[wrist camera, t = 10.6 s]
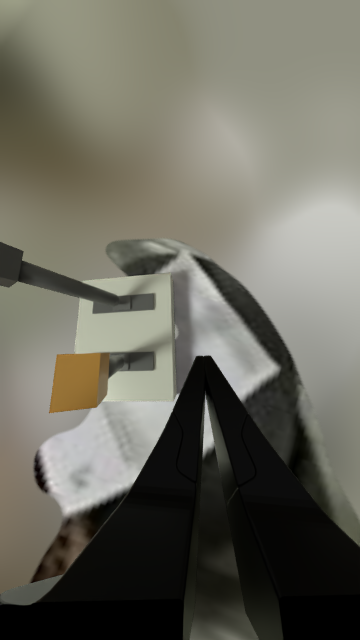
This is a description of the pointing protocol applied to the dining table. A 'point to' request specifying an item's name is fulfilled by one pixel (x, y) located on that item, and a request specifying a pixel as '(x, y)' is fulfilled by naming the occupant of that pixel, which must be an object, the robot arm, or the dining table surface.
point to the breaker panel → (116, 324)
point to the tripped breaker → (82, 380)
